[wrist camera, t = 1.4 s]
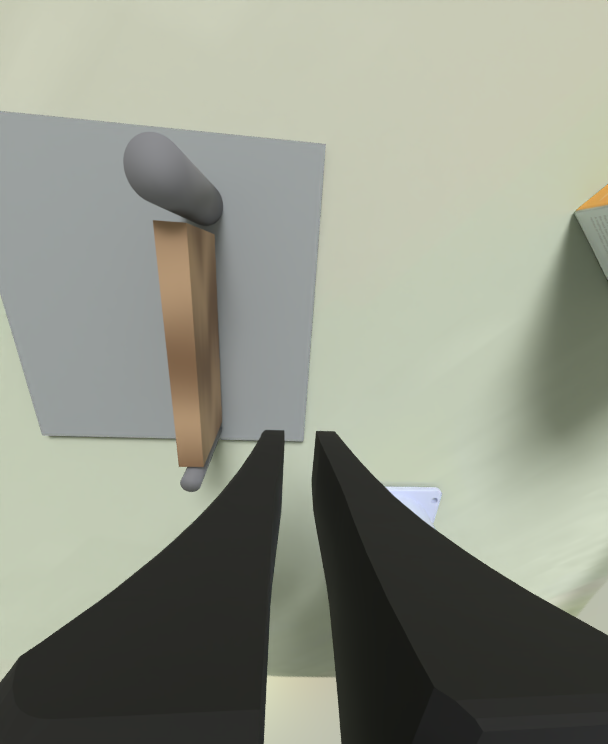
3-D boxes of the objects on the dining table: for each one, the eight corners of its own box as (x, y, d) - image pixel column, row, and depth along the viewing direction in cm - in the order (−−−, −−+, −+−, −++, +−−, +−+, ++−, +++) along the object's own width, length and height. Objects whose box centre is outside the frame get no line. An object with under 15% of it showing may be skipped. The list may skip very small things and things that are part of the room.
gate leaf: (190, 232, 15) (152, 220, 10) (214, 234, 15) (186, 222, 11) (203, 421, 18) (178, 466, 14) (222, 422, 18) (203, 467, 14)
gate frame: (-46, 109, 13) (-298, -8, 7) (324, 147, 14) (348, 71, 9) (47, 432, 19) (-54, 502, 13) (303, 437, 20) (309, 504, 15)
